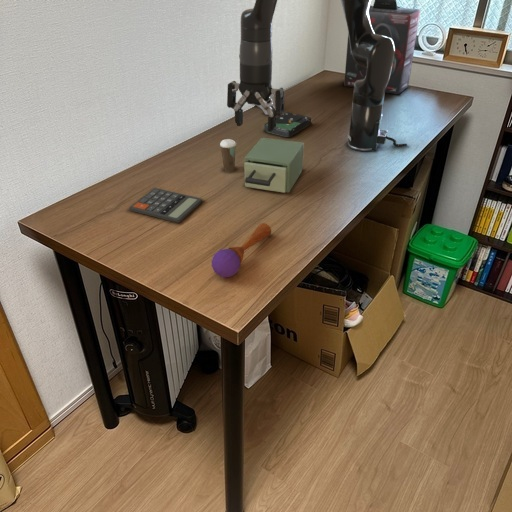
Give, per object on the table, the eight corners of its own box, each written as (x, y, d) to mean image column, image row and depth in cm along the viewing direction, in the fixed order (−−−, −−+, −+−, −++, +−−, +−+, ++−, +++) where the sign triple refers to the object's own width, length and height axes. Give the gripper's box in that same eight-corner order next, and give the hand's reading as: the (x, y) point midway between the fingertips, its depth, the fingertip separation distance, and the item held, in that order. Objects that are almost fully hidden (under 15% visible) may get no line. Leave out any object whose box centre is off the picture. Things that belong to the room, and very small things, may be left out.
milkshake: (237, 173, 142) (236, 141, 137) (219, 172, 143) (217, 139, 137) (241, 166, 146) (240, 135, 140) (223, 165, 147) (221, 133, 141)
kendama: (278, 224, 113) (232, 265, 98) (273, 245, 116) (227, 287, 101) (256, 213, 115) (208, 252, 100) (251, 234, 118) (204, 274, 103)
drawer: (277, 203, 126) (278, 180, 122) (236, 197, 130) (235, 173, 126) (297, 171, 141) (298, 149, 137) (260, 166, 144) (260, 144, 140)
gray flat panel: (275, 116, 179) (276, 94, 174) (270, 117, 178) (270, 95, 173) (252, 101, 193) (252, 79, 188) (247, 102, 192) (247, 80, 187)
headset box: (342, 86, 207) (349, -2, 187) (353, 78, 215) (362, -7, 196) (398, 95, 196) (413, 3, 177) (408, 87, 204) (423, -2, 185)
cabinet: (288, 192, 133) (289, 163, 128) (245, 185, 136) (244, 157, 131) (302, 170, 144) (303, 142, 139) (261, 164, 147) (261, 137, 142)
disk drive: (286, 119, 177) (263, 131, 168) (286, 111, 176) (263, 123, 166) (311, 124, 173) (289, 138, 163) (311, 117, 171) (289, 130, 161)
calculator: (154, 187, 134) (202, 198, 129) (155, 190, 135) (202, 201, 129) (128, 207, 126) (178, 219, 120) (129, 210, 126) (178, 222, 121)
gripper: (290, 59, 113) (287, 127, 123) (235, 52, 118) (236, 118, 128) (278, 67, 108) (275, 137, 117) (220, 60, 113) (222, 128, 122)
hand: (255, 127), depth 122 cm, fingers open, 8 cm apart
